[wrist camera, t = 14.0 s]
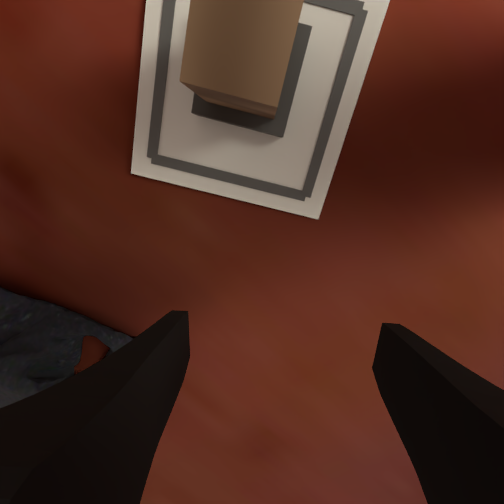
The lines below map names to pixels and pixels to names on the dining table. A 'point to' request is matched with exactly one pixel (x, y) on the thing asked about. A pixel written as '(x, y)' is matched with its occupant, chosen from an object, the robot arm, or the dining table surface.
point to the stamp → (244, 61)
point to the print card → (245, 140)
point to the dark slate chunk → (42, 344)
